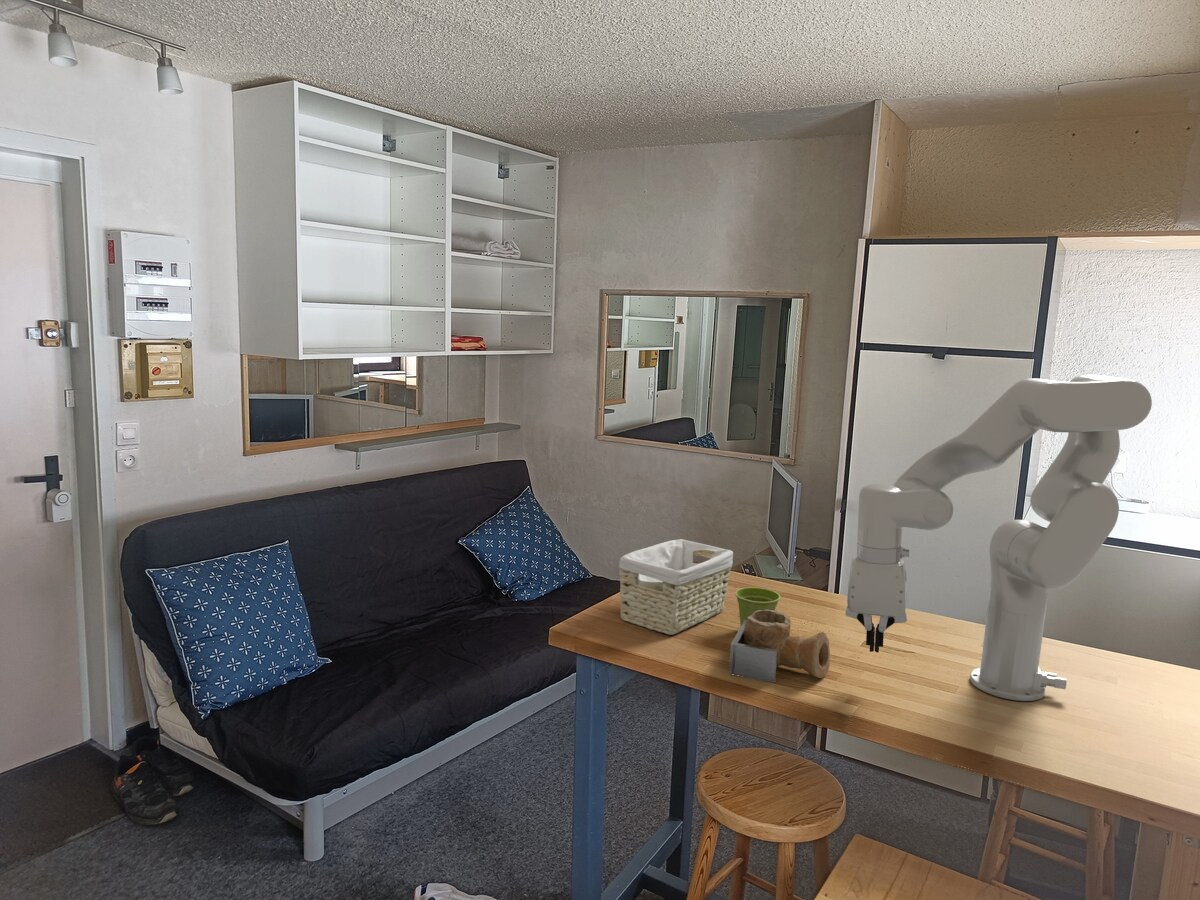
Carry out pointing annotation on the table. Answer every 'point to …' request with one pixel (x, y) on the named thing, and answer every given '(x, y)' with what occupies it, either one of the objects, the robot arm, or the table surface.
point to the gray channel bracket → (752, 659)
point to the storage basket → (673, 585)
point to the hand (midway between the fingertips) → (874, 649)
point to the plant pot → (755, 601)
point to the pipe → (788, 642)
